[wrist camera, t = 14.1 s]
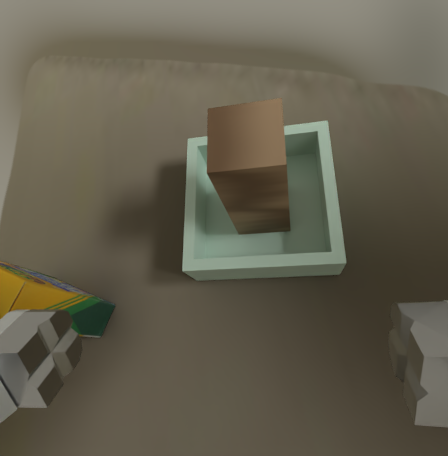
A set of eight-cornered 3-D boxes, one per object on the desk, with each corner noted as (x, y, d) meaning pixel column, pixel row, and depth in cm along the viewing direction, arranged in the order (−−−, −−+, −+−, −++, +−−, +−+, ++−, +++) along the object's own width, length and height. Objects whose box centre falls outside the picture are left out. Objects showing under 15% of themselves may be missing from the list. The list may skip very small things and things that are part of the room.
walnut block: (287, 184, 26) (281, 97, 17) (290, 231, 25) (286, 164, 16) (238, 189, 27) (207, 108, 18) (239, 234, 26) (206, 172, 17)
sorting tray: (323, 147, 27) (327, 120, 24) (339, 274, 24) (346, 263, 20) (200, 161, 29) (187, 138, 26) (197, 280, 26) (182, 271, 22)
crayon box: (118, 302, 27) (-2, 273, 16) (101, 338, 26) (-36, 334, 15) (51, 274, 29) (-93, 231, 18) (34, 306, 28) (-127, 282, 17)
